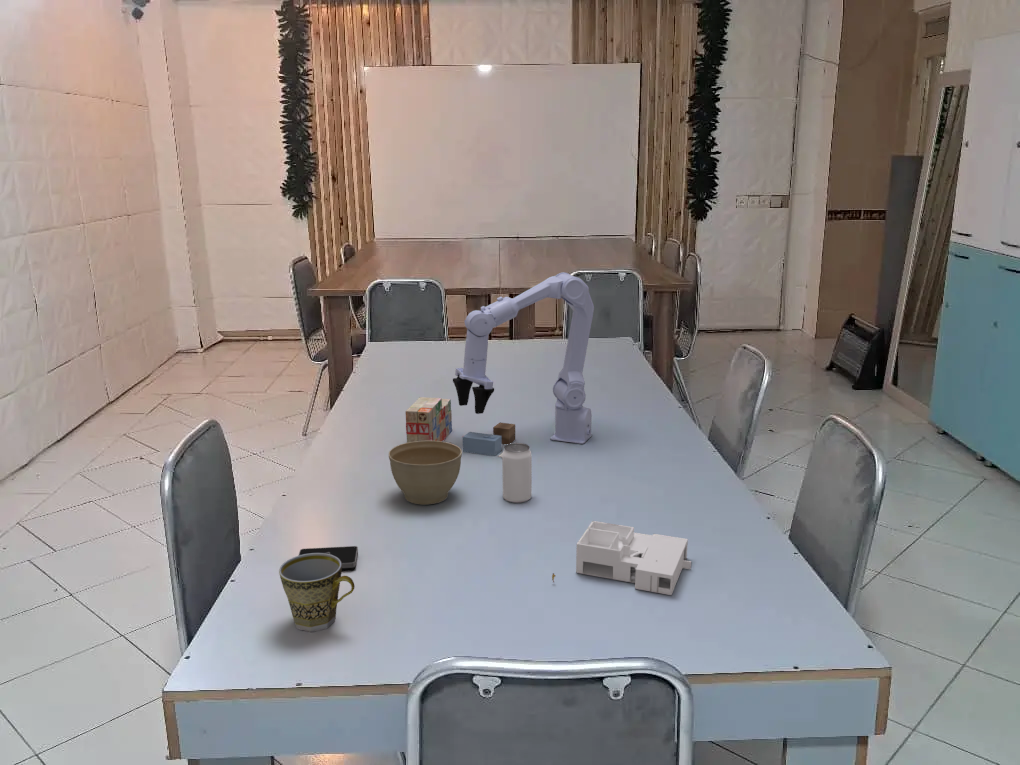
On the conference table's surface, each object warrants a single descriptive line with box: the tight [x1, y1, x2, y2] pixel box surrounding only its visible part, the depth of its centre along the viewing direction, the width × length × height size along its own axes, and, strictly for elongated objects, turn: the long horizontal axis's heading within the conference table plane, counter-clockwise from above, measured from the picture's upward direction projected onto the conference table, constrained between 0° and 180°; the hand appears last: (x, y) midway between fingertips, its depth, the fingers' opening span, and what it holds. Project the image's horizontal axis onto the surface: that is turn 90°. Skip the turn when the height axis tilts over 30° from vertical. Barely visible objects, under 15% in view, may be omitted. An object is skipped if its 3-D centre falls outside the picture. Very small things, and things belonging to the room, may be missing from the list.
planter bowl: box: [388, 441, 463, 506], centre depth 189 cm, size 16×16×11 cm
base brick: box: [462, 431, 503, 457], centre depth 219 cm, size 9×4×4 cm, turn 68°
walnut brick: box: [492, 422, 516, 445], centre depth 226 cm, size 4×4×4 cm
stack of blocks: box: [405, 396, 453, 443], centre depth 224 cm, size 21×6×12 cm, turn 169°
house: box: [551, 520, 692, 596], centre depth 156 cm, size 22×18×6 cm
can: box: [501, 442, 533, 504], centre depth 188 cm, size 6×6×12 cm
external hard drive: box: [297, 545, 359, 572], centre depth 160 cm, size 7×11×2 cm, turn 95°
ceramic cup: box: [278, 553, 356, 633], centre depth 139 cm, size 13×10×10 cm
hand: (471, 409), depth 220 cm, fingers open, 7 cm apart
